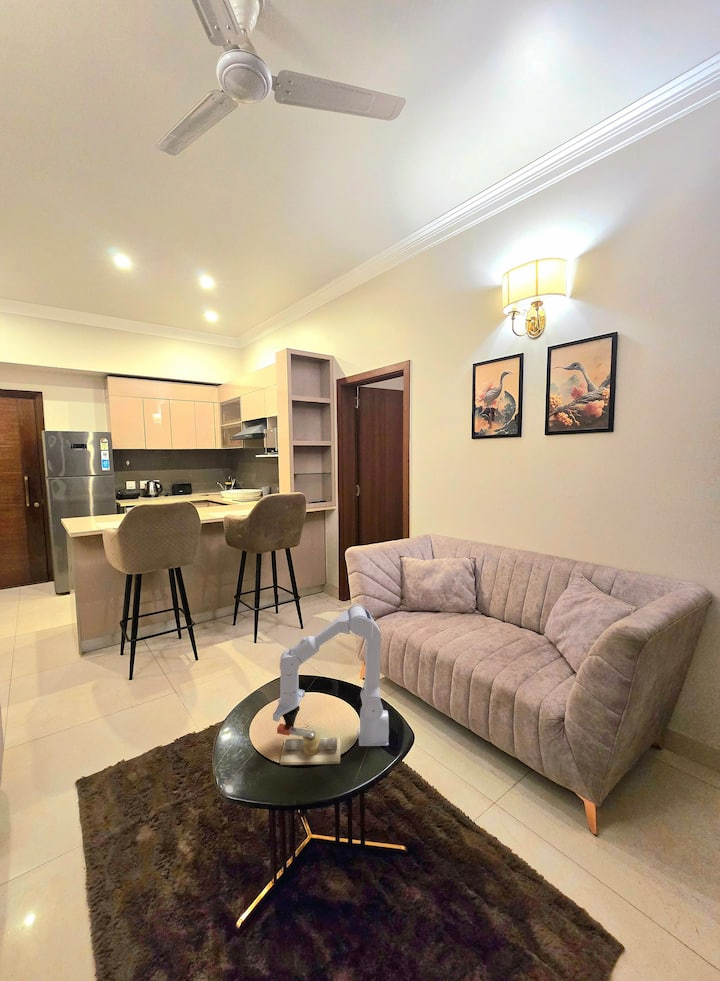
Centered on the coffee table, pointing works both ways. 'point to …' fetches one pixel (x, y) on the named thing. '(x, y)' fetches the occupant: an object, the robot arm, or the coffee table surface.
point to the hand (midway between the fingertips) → (289, 728)
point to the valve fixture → (310, 751)
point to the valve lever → (295, 731)
